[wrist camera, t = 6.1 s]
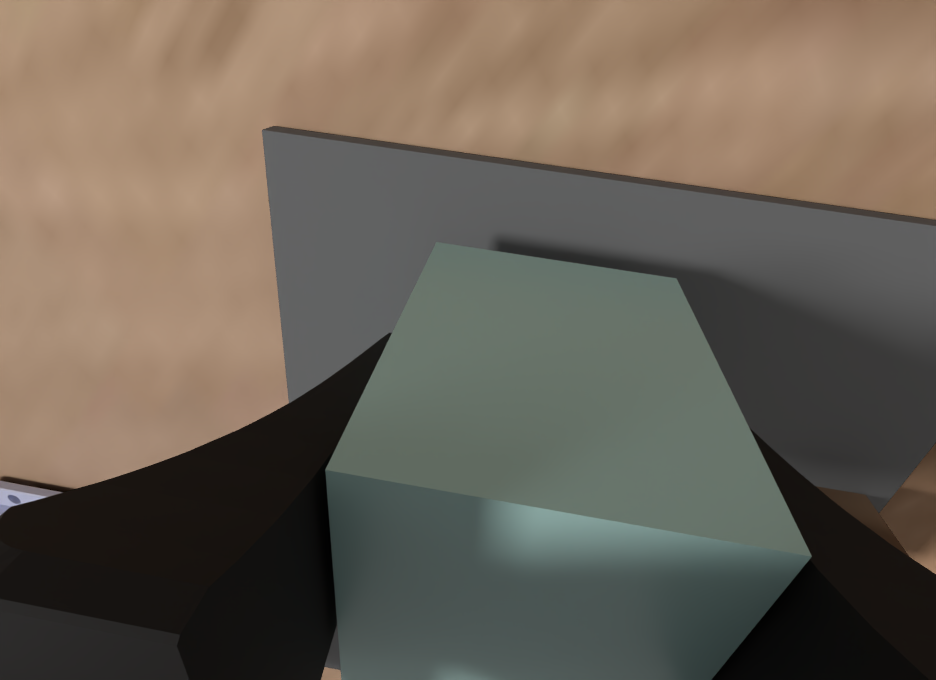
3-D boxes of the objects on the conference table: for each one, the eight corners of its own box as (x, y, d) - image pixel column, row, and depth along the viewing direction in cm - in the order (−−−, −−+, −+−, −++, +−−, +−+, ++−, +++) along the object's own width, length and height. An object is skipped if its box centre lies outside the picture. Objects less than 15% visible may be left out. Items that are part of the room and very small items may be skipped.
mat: (319, 651, 25) (314, 664, 24) (273, 126, 12) (262, 129, 11) (692, 725, 24) (695, 740, 23) (1066, 239, 11) (1092, 248, 11)
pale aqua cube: (423, 418, 14) (341, 683, 8) (436, 242, 11) (325, 468, 6) (612, 450, 14) (656, 747, 8) (676, 278, 11) (812, 555, 5)
